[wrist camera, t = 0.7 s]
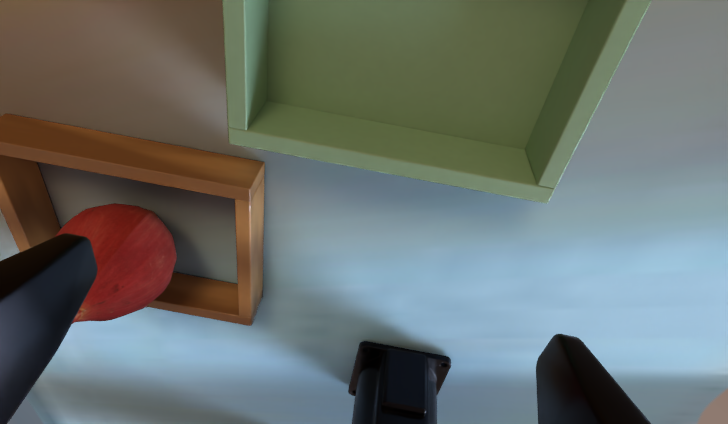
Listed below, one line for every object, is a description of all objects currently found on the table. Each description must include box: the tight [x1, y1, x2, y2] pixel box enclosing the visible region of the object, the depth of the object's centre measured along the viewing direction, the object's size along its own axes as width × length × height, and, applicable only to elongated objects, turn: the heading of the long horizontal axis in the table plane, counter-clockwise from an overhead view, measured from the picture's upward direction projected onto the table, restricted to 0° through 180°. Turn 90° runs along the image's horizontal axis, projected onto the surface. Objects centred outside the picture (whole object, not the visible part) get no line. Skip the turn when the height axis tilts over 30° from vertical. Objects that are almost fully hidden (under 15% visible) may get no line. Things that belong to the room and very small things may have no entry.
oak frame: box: [0, 114, 265, 326], centre depth 26 cm, size 11×14×2 cm
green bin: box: [222, 0, 652, 204], centre depth 17 cm, size 12×14×4 cm
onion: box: [55, 203, 177, 324], centre depth 23 cm, size 6×6×8 cm
